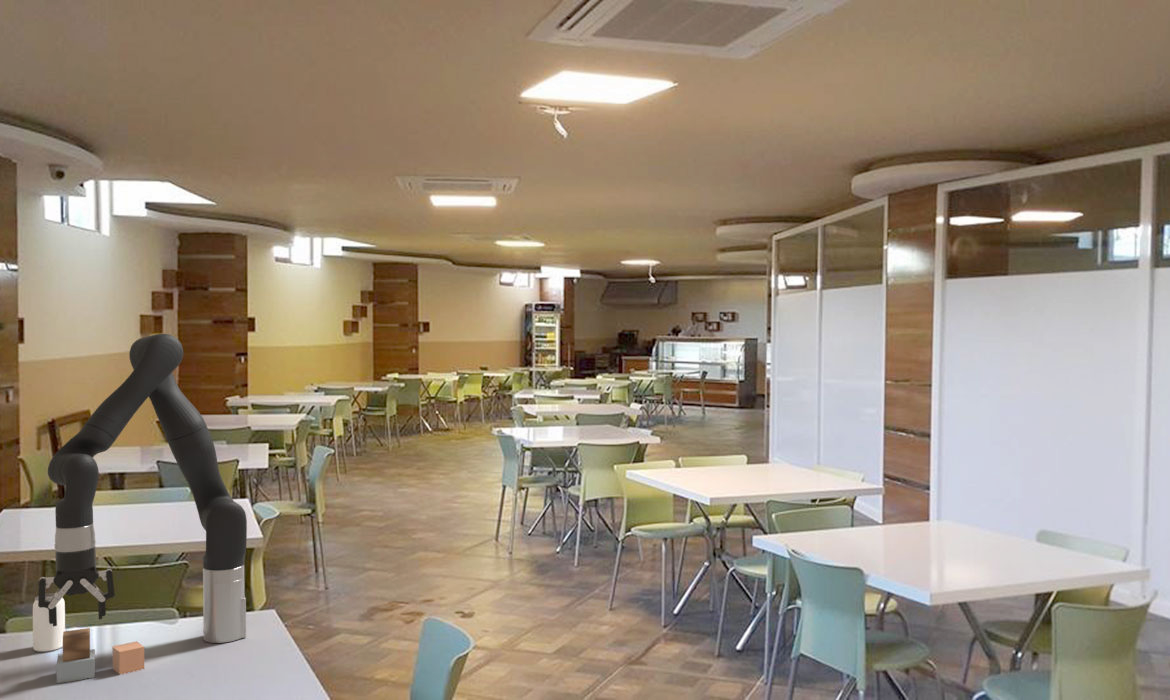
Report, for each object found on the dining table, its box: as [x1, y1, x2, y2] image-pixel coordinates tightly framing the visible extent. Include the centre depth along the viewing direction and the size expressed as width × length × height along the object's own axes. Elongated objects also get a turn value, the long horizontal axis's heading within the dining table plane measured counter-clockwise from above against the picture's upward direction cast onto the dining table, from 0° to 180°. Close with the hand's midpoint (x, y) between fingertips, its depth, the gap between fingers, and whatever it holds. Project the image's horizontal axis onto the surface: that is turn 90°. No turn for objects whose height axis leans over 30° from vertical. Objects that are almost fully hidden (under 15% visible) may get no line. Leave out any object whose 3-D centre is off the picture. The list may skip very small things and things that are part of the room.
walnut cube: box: [62, 627, 91, 662], centre depth 199 cm, size 5×5×5 cm
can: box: [32, 592, 66, 653], centre depth 216 cm, size 6×6×12 cm
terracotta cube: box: [112, 640, 145, 675], centre depth 203 cm, size 5×5×5 cm
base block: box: [56, 648, 96, 684], centre depth 199 cm, size 7×7×4 cm
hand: (77, 621), depth 199 cm, fingers open, 8 cm apart
